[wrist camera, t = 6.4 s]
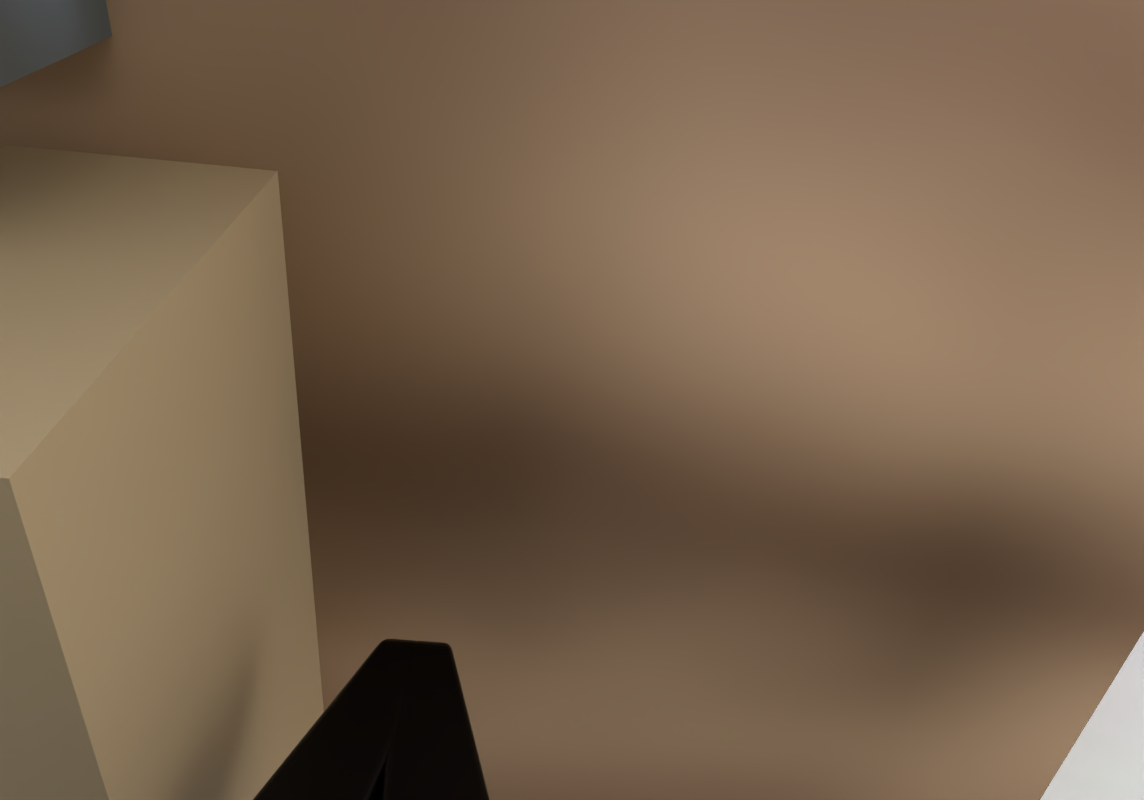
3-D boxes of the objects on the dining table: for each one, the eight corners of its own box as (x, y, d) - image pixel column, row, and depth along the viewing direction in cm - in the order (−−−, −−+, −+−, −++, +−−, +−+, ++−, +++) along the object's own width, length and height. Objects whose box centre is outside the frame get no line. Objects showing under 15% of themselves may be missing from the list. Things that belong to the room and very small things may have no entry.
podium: (942, 792, 17) (1040, 1061, 14) (-165, 724, 17) (-384, 988, 13) (1444, -187, 9) (2092, -191, 5) (-812, -420, 8) (-2046, -631, 4)
